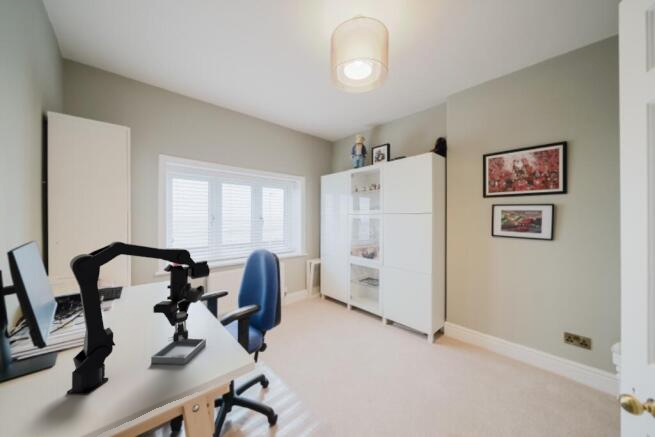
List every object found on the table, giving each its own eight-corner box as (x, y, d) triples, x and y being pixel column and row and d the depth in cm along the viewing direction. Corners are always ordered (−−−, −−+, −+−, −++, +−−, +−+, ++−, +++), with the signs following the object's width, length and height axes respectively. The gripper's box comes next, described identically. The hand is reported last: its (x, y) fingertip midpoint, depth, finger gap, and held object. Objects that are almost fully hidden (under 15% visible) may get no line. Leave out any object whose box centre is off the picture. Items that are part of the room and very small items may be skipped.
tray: (184, 365, 81) (184, 357, 81) (151, 364, 81) (151, 356, 81) (205, 345, 94) (205, 338, 94) (176, 344, 94) (176, 337, 94)
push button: (167, 345, 85) (166, 318, 85) (169, 338, 90) (168, 312, 90) (188, 340, 88) (187, 314, 88) (189, 334, 93) (188, 309, 93)
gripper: (184, 289, 80) (183, 335, 80) (212, 276, 99) (211, 313, 98) (152, 288, 80) (151, 334, 80) (186, 275, 99) (185, 312, 99)
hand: (178, 322), depth 89 cm, fingers closed on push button, 5 cm apart
